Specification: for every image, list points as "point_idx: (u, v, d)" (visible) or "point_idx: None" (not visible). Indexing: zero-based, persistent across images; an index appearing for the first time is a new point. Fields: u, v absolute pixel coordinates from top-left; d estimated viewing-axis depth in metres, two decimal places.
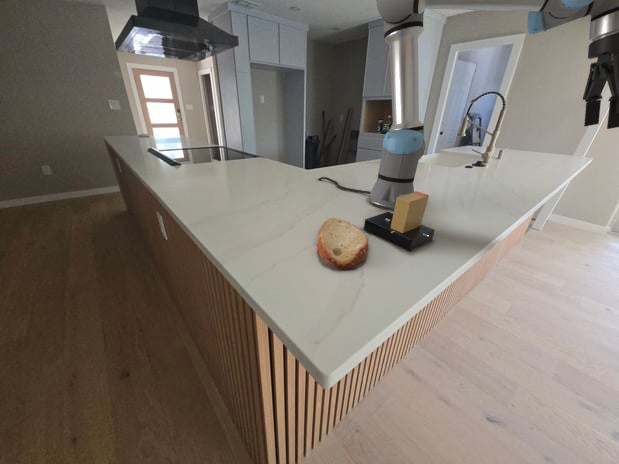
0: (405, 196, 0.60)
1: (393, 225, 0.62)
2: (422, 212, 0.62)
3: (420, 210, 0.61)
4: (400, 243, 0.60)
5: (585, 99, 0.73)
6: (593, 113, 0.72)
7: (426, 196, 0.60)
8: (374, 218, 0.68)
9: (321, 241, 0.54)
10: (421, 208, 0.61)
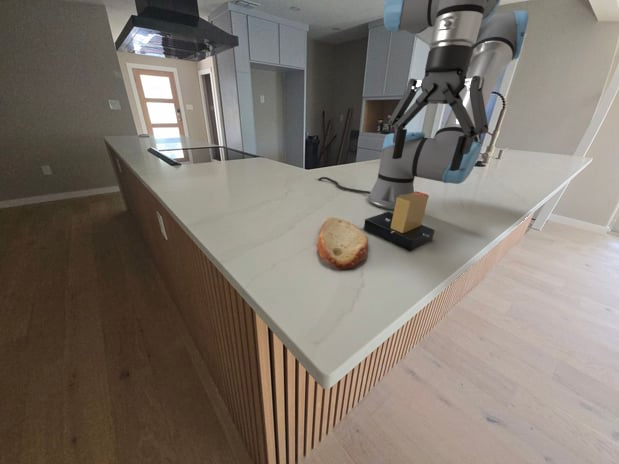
0: (405, 196, 0.60)
1: (393, 225, 0.62)
2: (422, 212, 0.62)
3: (420, 210, 0.61)
4: (400, 243, 0.60)
5: None
6: None
7: (426, 196, 0.60)
8: (374, 218, 0.68)
9: (321, 241, 0.54)
10: (421, 208, 0.61)
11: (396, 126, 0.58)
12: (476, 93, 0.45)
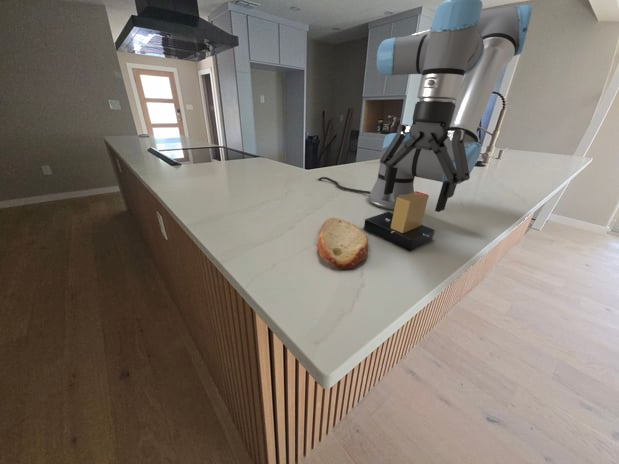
0: (405, 196, 0.60)
1: (393, 225, 0.62)
2: (422, 212, 0.62)
3: (420, 210, 0.61)
4: (400, 243, 0.60)
5: None
6: None
7: (426, 196, 0.60)
8: (374, 218, 0.68)
9: (321, 241, 0.54)
10: (421, 208, 0.61)
11: (387, 165, 0.62)
12: (457, 145, 0.49)
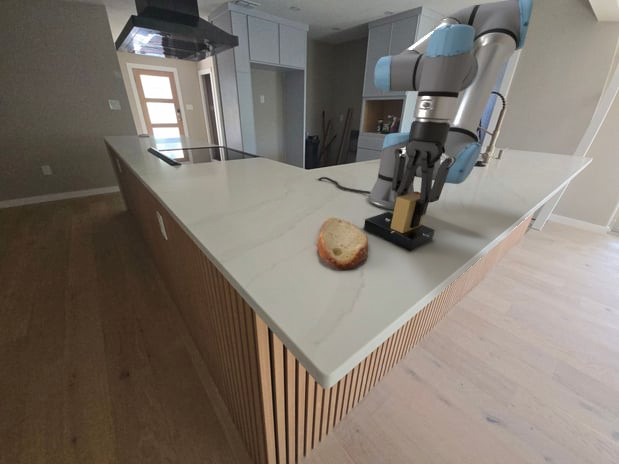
0: (405, 196, 0.60)
1: (393, 225, 0.62)
2: None
3: None
4: (400, 243, 0.60)
5: None
6: None
7: None
8: (374, 218, 0.68)
9: (321, 241, 0.54)
10: None
11: (399, 193, 0.61)
12: (442, 172, 0.52)
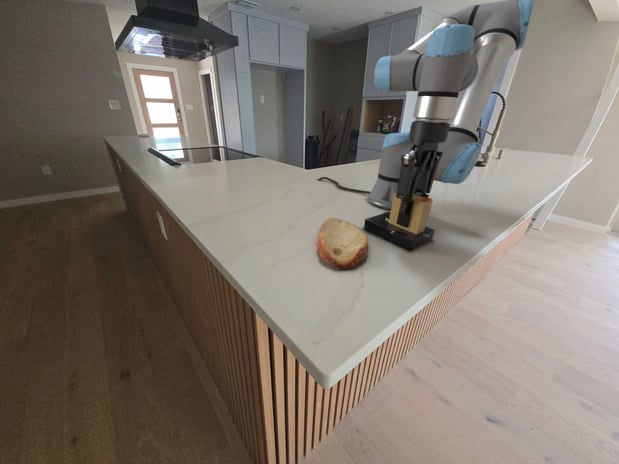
0: None
1: None
2: (417, 218, 0.59)
3: (412, 213, 0.59)
4: (400, 243, 0.60)
5: (411, 199, 0.57)
6: None
7: (421, 201, 0.57)
8: (374, 218, 0.68)
9: (321, 241, 0.54)
10: (413, 211, 0.59)
11: None
12: (401, 167, 0.54)
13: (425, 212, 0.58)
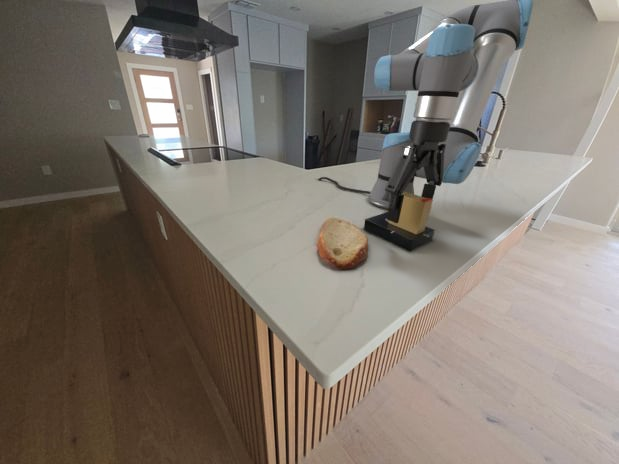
0: (410, 193, 0.62)
1: None
2: (417, 218, 0.59)
3: (412, 213, 0.59)
4: (400, 243, 0.60)
5: (401, 192, 0.53)
6: None
7: (421, 201, 0.57)
8: (374, 218, 0.68)
9: (321, 241, 0.54)
10: (413, 211, 0.59)
11: None
12: (399, 159, 0.53)
13: (425, 212, 0.58)
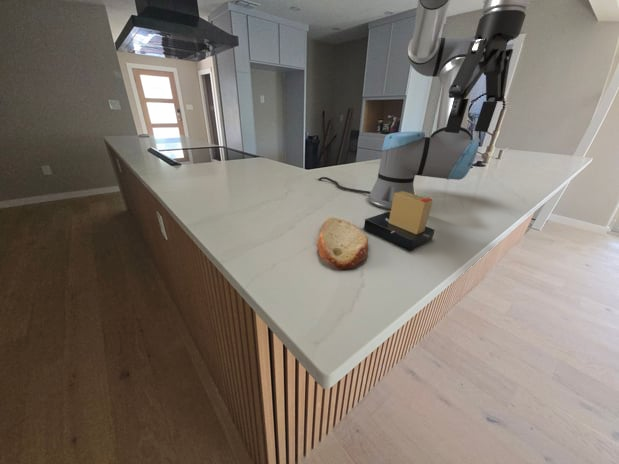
0: (410, 193, 0.62)
1: None
2: (417, 218, 0.59)
3: (412, 213, 0.59)
4: (400, 243, 0.60)
5: (466, 93, 0.50)
6: None
7: (421, 201, 0.57)
8: (374, 218, 0.68)
9: (321, 241, 0.54)
10: (413, 211, 0.59)
11: None
12: (466, 56, 0.49)
13: (425, 212, 0.58)
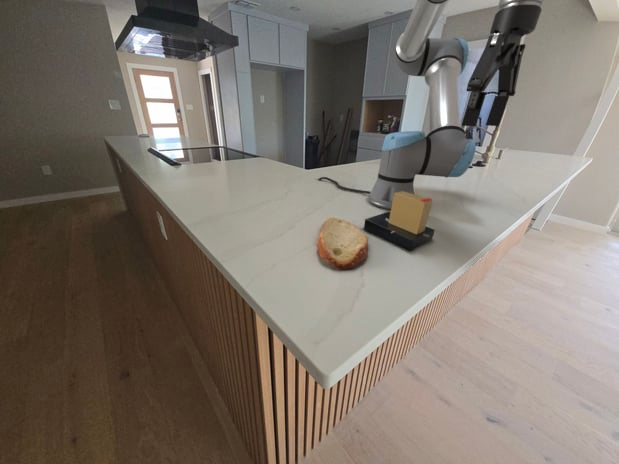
0: (410, 193, 0.62)
1: None
2: (417, 218, 0.59)
3: (412, 213, 0.59)
4: (400, 243, 0.60)
5: (485, 86, 0.51)
6: None
7: (421, 201, 0.57)
8: (374, 218, 0.68)
9: (321, 241, 0.54)
10: (413, 211, 0.59)
11: None
12: (484, 50, 0.50)
13: (425, 212, 0.58)
